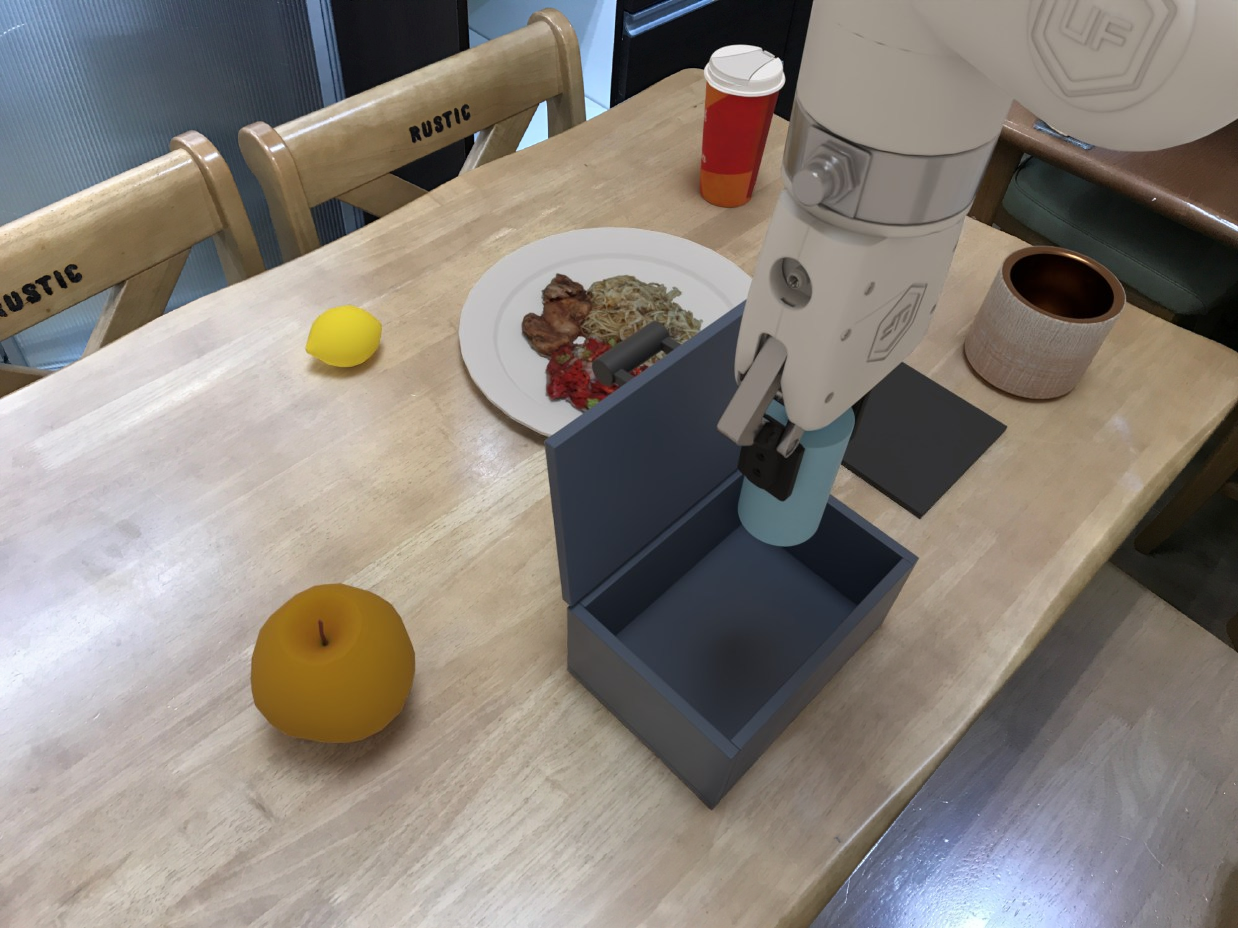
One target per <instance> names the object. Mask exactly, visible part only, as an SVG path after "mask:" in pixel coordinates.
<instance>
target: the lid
mask: <svg viewBox="0 0 1238 928" xmlns="http://www.w3.org/2000/svg"><path fill="white" fill-rule="evenodd" d="M746 300H747V299H746ZM746 300H744V301H743V302H741V303H740V304H739V305H737V306H736V307H734V308H733V309H731V310H730V311H729V312H727V313H726V314H724V315H723V316H721V317H720V318H719V319H717V320H716V321H714V322H713V323H711V324H710V325H709V326H707V327H706V328H704V329H703V330H701V331H700V332H699V333H697V334H696V335H694V336H693V337H691V338H690V339H689V340H687V341H686V342H684V343H683V344H680V343H678V342H677V341H675V340H673V339H672V338H670V334H669V332H668V330H667V328H666V327H665V326H664V325H663V324H662V323H660V322H658V321H652V322H650V323H649V324H647V325H646V326H644V327H643V328H641V329H640V330H638V331H637V332H635V333H634V334H632V335H631V336H629V337H628V338H626V339H625V340H623V341H622V342H620V343H619V344H617V345H616V346H614V347H613V348H611V349H610V350H608V351H607V352H605V353H604V354H602V355H601V356H599V357H598V358H596V359H595V360H593V362H592V370H593V373H594V375H595V376H596V378H597V379H598V380H599V381H600V382H601V383H602V384H603V385H605V386H611V385H613V384H614V383H615V384H617V385H618V386H620V388H619V389H617V390H616V391H614V392H613V393H611V394H610V395H609V396H607V397H606V398H604V399H603V400H601V401H600V402H599V403H597V404H596V405H594V406H593V407H591V408H590V409H589V410H587V411H586V412H584V413H583V414H581V415H580V416H579V417H577V418H576V419H574V420H573V421H572V422H570V423H569V424H567V425H566V426H564V427H563V428H562V429H560V430H559V431H557V432H556V433H554V434H553V435H552V436H550V437H547V438H546V439H544V450H545V459H546V468H547V476H548V477H547V478H548V486H549V493H550V502H551V503H550V504H551V511H552V521H553V529H554V537H555V546H556V555H557V563H558V572H559V581H560V589H561V597H562V600H563V602H565V603H566V604H567V606H569V605H570V606H572V605H574V604H575V603H576V602H577V601H578V600H580V599H581V598H582V597H583V596H584V595H585V594H587V593H588V592H589V591H590V590H591V589H593V588H594V587H595V586H596V585H597V584H599V583H600V582H601V581H602V580H603V579H605V578H606V577H607V576H608V575H609V574H611V573H612V572H613V571H614V570H615V569H617V568H618V567H619V566H620V565H621V564H623V563H624V562H625V561H626V560H627V559H629V558H630V557H631V556H632V555H633V554H635V553H636V552H637V551H638V550H639V549H641V548H642V547H643V546H644V545H645V544H647V543H648V542H649V541H650V540H651V539H653V538H654V537H655V536H656V535H657V534H659V533H660V532H661V531H662V530H663V529H665V528H666V527H667V526H668V525H669V524H671V523H672V522H673V521H674V520H675V519H676V518H678V517H679V516H680V515H681V514H682V513H684V512H685V511H686V510H687V509H688V508H690V507H691V506H692V505H693V504H694V503H696V502H697V501H698V500H699V499H700V498H702V497H703V496H704V495H705V494H706V493H708V492H709V491H710V490H711V489H712V488H714V487H715V486H716V485H717V484H718V483H720V482H721V481H722V480H723V479H724V478H726V477H727V476H728V475H729V474H730V473H732V472H733V471H734V470H735V469H736V468H738V467H737V466H738V460H739V456H740V451H741V446H738V445H736V444H735V443H733V442H732V441H731V440H729V439H728V438H726V437H725V436H724V435H722V434H721V433H719V432H718V431H717V429H716V428H717V425H718V422H719V421H720V419H721V417H722V415H723V414H724V412H725V410H726V409H727V407H728V405H729V403H730V402H731V400H732V398H733V397H734V395H735V393H736V391H737V390H738V388H739V386H738V385H737V382H736V379H735V355H736V348H737V341H738V336H739V331H740V326H741V321H742V317H743V313H744V308H745V304H746ZM660 351H663V352H665V353H666V354H667V355H666V356H664V357H663V358H661V359H660V360H659V361H657V362H656V363H654V364H653V365H651V366H650V367H649V368H647V369H646V370H644V371H643V372H641V373H640V374H639V375H637V376H636V377H634V376H632V375H631V374H629V373H630V372H632V371H633V370H634V369H636V368H637V367H639V366H640V365H642V364H643V363H645V362H646V361H647V360H649V359H650V358H652V357H653V356H655V355H656V354H658V353H659V352H660Z"/></svg>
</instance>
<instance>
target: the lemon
mask: <svg viewBox="0 0 1238 928" xmlns="http://www.w3.org/2000/svg"><path fill="white" fill-rule="evenodd" d="M382 330H383V325H382V323H381V321H380V320H379V319H378V318H376V317H375V316H374V315H373V314H372V313H370V312H369V311H367V310H365V309H364V308H362V307H358V306H355V305H352V304H347V305H341V306H337V307H332V308H328V309H326V310H325V311H324V312H322V313H321V314H319V315H318V316H317V317H316V318H315V320H314V321H312V324H311V326H310V329H309V333H308V335H307V336H308V337H307V341H306V344H305V347H304V349H305V351H306V354H307V355H310V356H312V357H313V358H316V359H317V360H320V361H321V362H323V363H325V364H327V365H328V366H332V367H333V366H334V367H339V368H352V367H355V366H359V365H360V364H363V363H365V362H366V361H367V360H368V359H370V358H371V357H372V355H373V354H374V353H376V351H377V350H378V349H379V345H380V342H381V337H382Z"/></svg>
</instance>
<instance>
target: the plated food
mask: <svg viewBox="0 0 1238 928" xmlns="http://www.w3.org/2000/svg"><path fill="white" fill-rule="evenodd" d="M752 278H753V277H751V276H750V275H749V274H748V273H746V271H744V270H743V269H742V268H741V267H739V266H738V265H737V264H736V263H735V262H734V261H731V260H729V258H726V257H724V256H723V255H721V254H719V253H718V252H716V251H714V249H711V248H709V247H706V246H704V245H702V244H699V243H697V242H694V241H692V240H690V239H687V238H684V237H680V236H676V235H672V234H669V233H665V232H662V231H656V230H650V229H645V228H643V229H642V228H636V227H619V226H618V227H616V226H615V227H614V226H613V227H612V226H601V227H589V228H579V229H573V230H568V231H564V232H560V233H555V234H550V235H548V236H546V237H542V238H541V239H537V240H535V241H532V242H529V243H527V244H524V245H523V246H521V247H518V248H517V249H516V250H514V251H512V252H510V253H508V254H507V255H504V256H503V257H502V258H500V259H499V260H498V261H496V263H494V264H493V265H492V266H491V267H490V268H488V269H487V270H486V271H485V272H484V273H483V274H482V275H481V277H480V278H479V279H478V281H477V282H476V283H475V284H474V286H473V287H472V288H471V289H470V291H469V293H468V295H467V297H466V300H465V302H464V304H463V306H462V309H461V310H460V311H461V312H460V320H459V326H458V339H459V345H460V352H461V358H462V360H463V363H464V365H465V367H466V369H467V371H468V373H469V376H470V378H471V380H472V381H473V383H474V384H475V385H476V387H477V388H478V389H479V390H480V391H481V393H482V394H483V395H484V396H485V398H486V399H487V400H488V401H489V402H490V403H491V404H492V405H494V406H495V407H496V408H498V409H499V410H500V411H502V413H503V414H505V415H506V416H508V417H509V418H510V419H511V420H513V421H515V422H516V423H519V424H520V425H522V426H524V427H526V428H528V429H529V430H532V431H534V432H536V433H538V434H539V435H542V436H545V437H547V438H549V437H550V436H552V435H553V434H554V433H556V432H557V431H559V430H560V429H562V428H563V427H564V426H566V425H567V424H569V423H570V422H572V421H573V420H574V419H576V418H577V417H579V416H580V415H581V414H583V413H584V412H586V411H587V410H589V409H590V408H591V407H593V406H594V405H596V404H597V403H599V402H600V401H601V400H603V399H604V398H606V397H607V396H609V395H610V394H611V393H613V392H614V391H616V390H617V389H619V388H620V386H618V385H617V384H615V383H614V384H613V385H611V386H605V385H603V384H602V383H601V382H600V381H599V380H598V379H597V378H596V376H595V375H594V373H593V370H592V362H593V360H595V359H596V358H598V357H599V356H601V355H602V354H604V353H605V352H607V351H608V350H610V349H611V348H613V347H614V346H616V345H617V344H619V343H620V342H622V341H623V340H625V339H626V338H628V337H629V336H631V335H632V334H634V333H635V332H637V331H638V330H640V329H641V328H643V327H644V326H646V325H647V324H649V323H650V322H652V321H658V322H660V323H662V324H663V325H664V326H665V327H666V328H667V330H668V332H669V334H670V338H672V339H673V340H675V341H677V342H678V343H680V344H683V343H684V342H686V341H687V340H689V339H690V338H691V337H693V336H694V335H696V334H697V333H699V332H700V331H701V330H703V329H704V328H706V327H707V326H709V325H710V324H711V323H713V322H714V321H716V320H717V319H719V318H720V317H721V316H723V315H724V314H726V313H727V312H729V311H730V310H731V309H733V308H734V307H736V306H737V305H739V304H740V303H741V302H743V301H744V300H746V299H747V296H748V292H749V289H750V285H751V281H752ZM666 355H667V354H666V353H665V352H663V351H660V352H659V353H658V354H656V355H655V356H653V357H652V358H650V359H649V360H647V361H646V362H645V363H643V364H642V365H640V366H639V367H637V368H636V369H634V370H633V371H632V372H630V373H629V374H631V375H632V376H634V377H636V376H637V375H639V374H640V373H641V372H643V371H644V370H646V369H647V368H649V367H650V366H651V365H653V364H654V363H656V362H657V361H659V360H660V359H661V358H663V357H664V356H666Z"/></svg>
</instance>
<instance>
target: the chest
mask: <svg viewBox="0 0 1238 928" xmlns="http://www.w3.org/2000/svg"><path fill="white" fill-rule="evenodd" d="M744 476H745V475H743V474H742V473H741V472H740V471H739V469H738V468H736V469H735V470H734V471H733V472H732V473H730V474H729V475H728V476H727V477H726V478H724V479H723V480H722V481H721V482H720V483H718V484H717V485H716V486H715V487H714V488H712V489H711V490H710V491H709V492H708V493H706V494H705V495H704V496H703V497H702V498H700V499H699V500H698V501H697V502H696V503H694V504H693V505H692V506H691V507H690V508H688V509H687V510H686V511H685V512H684V513H682V514H681V515H680V516H679V517H678V518H676V519H675V520H674V521H673V522H672V523H671V524H669V525H668V526H667V527H666V528H665V529H663V530H662V531H661V532H660V533H659V534H657V535H656V536H655V537H654V538H653V539H651V540H650V541H649V542H648V543H647V544H645V545H644V546H643V547H642V548H641V549H639V550H638V551H637V552H636V553H635V554H633V555H632V556H631V557H630V558H629V559H627V560H626V561H625V562H624V563H623V564H621V565H620V566H619V567H618V568H617V569H615V570H614V571H613V572H612V573H611V574H609V575H608V576H607V577H606V578H605V579H603V580H602V581H601V582H600V583H599V584H597V585H596V586H595V587H594V588H593V589H591V590H590V591H589V592H588V593H587V594H585V595H584V596H583V597H582V598H581V599H580V600H578V601H577V602H576V603H575V604H574V605H572V606H570V605H567V607H566V661H567V662H566V666H567V667H566V670H567V672H569V673H570V674H571V675H572V676H573V677H574V678H575V679H576V680H577V681H578V682H579V683H580V684H581V685H583V687H584V688H586V690H587V691H588V692H589V693H590V694H592V695H593V696H594V697H595V698H596V699H597V700H598V701H599V702H600V703H601V704H602V705H603V706H604V707H605V708H606V709H607V710H608V711H609V712H610V713H611V714H612V715H613V716H614V717H616V719H617V720H618V721H620V723H621V724H622V725H624V726H625V727H626V728H627V729H628V730H629V731H630V732H631V733H632V734H633V735H634V736H635V737H636V738H637V739H638V740H639V741H640V742H641V743H642V744H643V745H644V746H645V747H646V748H647V749H648V750H649V751H650V752H651V753H653V755H654V756H655V757H657V758H658V759H659V760H660V761H661V763H663V764H664V765H665V766H666V767H667V768H668V769H669V770H670V771H671V772H672V773H673V774H674V775H675V776H676V777H677V778H678V779H679V780H680V781H681V782H682V783H683V784H684V785H685V786H687V788H689V790H691V791H692V792H693V793H694V794H695V796H697V797H698V798H699V799H700V800H701V802H703V803H704V804H705V805H706V806H707V807H708V808H709V809H710V810H713V809H714V808H715V807H716V806H717V805H719V803H720V802H721V801H722V800H723V798H724V797H725V796H726V795H728V793H729V792H730V791H731V790H732V789H733V787H735V786H736V784H738V782H739V781H740V780H741V779H742V778H743V776H745V775H746V774H747V773H748V772H749V770H750V769H751V768H752V767H753V765H754V764H755V763H757V761H758V760H759V759H760V758H761V757H762V756H763V755H764V753H766V751H767V750H768V749H769V748H770V747H771V746H772V745H773V744H774V743H775V742H776V740H777V739H779V737H780V736H781V735H782V734H783V733H784V732H785V731H786V729H788V727H789V726H790V725H791V724H792V723H793V722H794V721H795V720H796V719H797V717H799V716H800V714H801V713H802V712H803V711H804V710H805V709H806V707H808V705H809V704H810V703H811V702H812V701H813V700H814V699H815V698H816V697H817V695H818V694H819V693H820V692H821V691H822V690H823V689H824V688H825V687H826V685H828V683H830V681H831V680H832V679H833V678H834V677H835V676H836V675H837V674H838V672H839V671H840V670H841V669H842V668H843V667H844V666H845V665H846V664H847V663H848V662H849V661H850V659H851V658H853V656H854V655H855V654H856V652H857V651H859V650H860V649H861V648H862V646H863V645H865V643H866V642H867V641H868V640H869V638H870V637H871V636H872V635H873V634H874V633H875V632H876V631H877V630H878V629H879V628H880V627H881V626H882V624H883V623H884V622H885V620H886V618H887V616H888V615H889V613H890V611H891V610H892V608H893V606H894V604H895V602H896V600H897V599H898V596H900V594H901V592H902V590H903V588H904V586H905V585H906V583H907V581H908V579H909V577H910V575H911V574H912V572H913V570H914V569H915V566H916V565H917V563H918V561H919V560H920V557H919V556H917V555H916V554H915V553H914V552H912V551H911V550H909V549H908V548H907V547H905V546H904V545H903V544H902V543H899V542H898V541H897V540H896V539H894V538H893V537H891V536H890V535H888V534H887V533H886V532H884V531H883V530H882V529H880V528H879V527H877V526H876V525H875V524H873V523H871V522H870V521H869V520H868V519H866V518H865V517H863V516H862V515H860V514H859V513H858V512H856V511H855V510H853V509H852V508H851V507H849V506H848V505H847V504H845V503H843V502H842V501H841V500H840V499H838V498H837V497H835V496H834V495H833V494H831V493H830V495H829V498H828V501H827V504H826V507H825V509H824V512H823V515H822V518H821V521H820V523H819V526H818V529H817V530H816V532H815V533H814V535H813V536H812V537H810V538H809V539H808V540H806V541H805V542H803V543H800V544H797V545H793V546H775V545H771V544H767V543H765V542H762V541H760V540H759V539H757V538H755V537H754V536H753V535H751V534H750V533H749V532H748V531H747V530H746V529H745V527H744V526H743V524H742V522H741V521H740V518H739V514H738V502H739V498H740V494H741V489H742V485H743V480H744Z"/></svg>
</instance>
